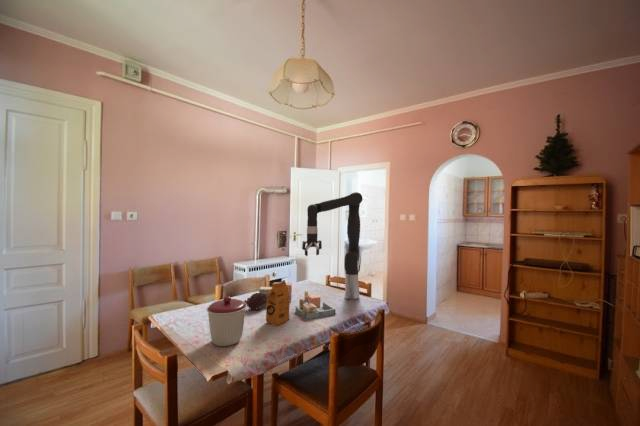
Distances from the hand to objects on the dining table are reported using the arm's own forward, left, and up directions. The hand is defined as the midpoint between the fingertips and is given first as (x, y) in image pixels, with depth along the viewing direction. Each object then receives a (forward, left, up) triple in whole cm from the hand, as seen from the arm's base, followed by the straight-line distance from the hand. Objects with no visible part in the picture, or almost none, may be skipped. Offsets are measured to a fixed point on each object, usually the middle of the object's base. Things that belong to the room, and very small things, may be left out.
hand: (311, 255), depth 195 cm
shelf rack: (+11, +27, -30) cm, 42 cm away
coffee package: (+35, +29, -30) cm, 55 cm away
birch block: (+16, +24, -30) cm, 42 cm away
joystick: (+5, +10, -30) cm, 32 cm away
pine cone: (+40, +5, -30) cm, 50 cm away
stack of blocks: (+25, -4, -30) cm, 40 cm away
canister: (+64, +41, -30) cm, 82 cm away
